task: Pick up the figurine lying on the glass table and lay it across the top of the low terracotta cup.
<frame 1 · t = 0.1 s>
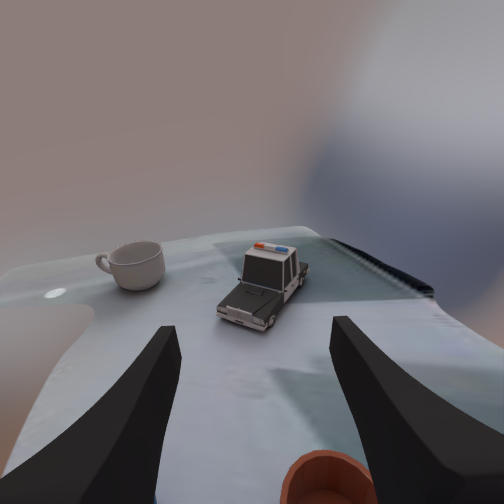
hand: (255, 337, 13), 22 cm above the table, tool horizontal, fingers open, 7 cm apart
toy car: (267, 297, 55), on the table
teacup: (136, 284, 62), on the table
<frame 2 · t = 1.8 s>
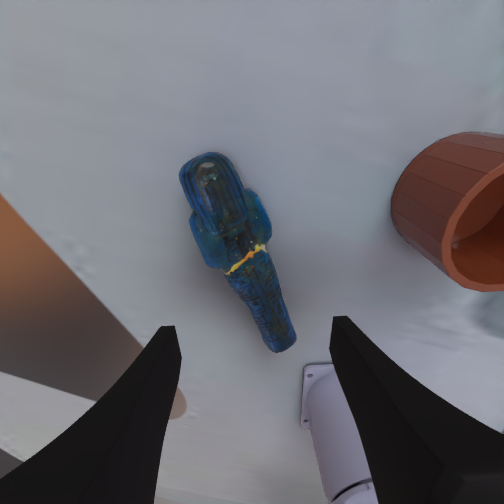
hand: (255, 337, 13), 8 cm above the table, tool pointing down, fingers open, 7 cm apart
figurine: (249, 250, 20), on the table
cup: (449, 195, 19), on the table
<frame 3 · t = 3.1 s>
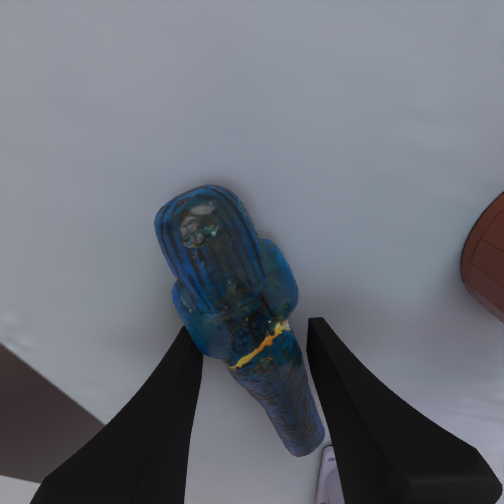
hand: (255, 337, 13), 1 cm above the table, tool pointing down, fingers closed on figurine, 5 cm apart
figurine: (261, 314, 14), on the table, touching gripper
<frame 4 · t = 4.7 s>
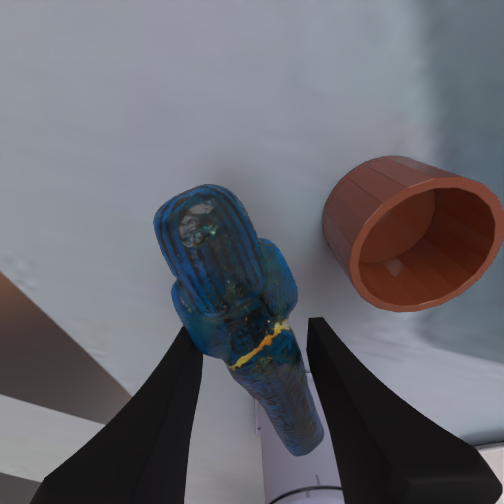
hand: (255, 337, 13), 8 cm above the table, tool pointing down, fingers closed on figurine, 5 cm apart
figurine: (261, 313, 14), point 7 cm above the table, touching gripper
cup: (378, 214, 19), on the table
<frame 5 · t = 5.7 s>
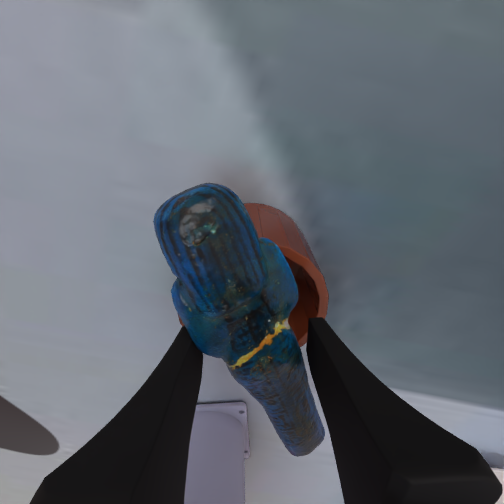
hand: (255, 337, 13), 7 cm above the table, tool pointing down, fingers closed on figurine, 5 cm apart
figurine: (261, 313, 14), point 6 cm above the table, touching gripper
cup: (249, 257, 19), on the table
when the fingers open (7 cm above the table, at t = 6.3 s): figurine stays where it is, resting on cup.
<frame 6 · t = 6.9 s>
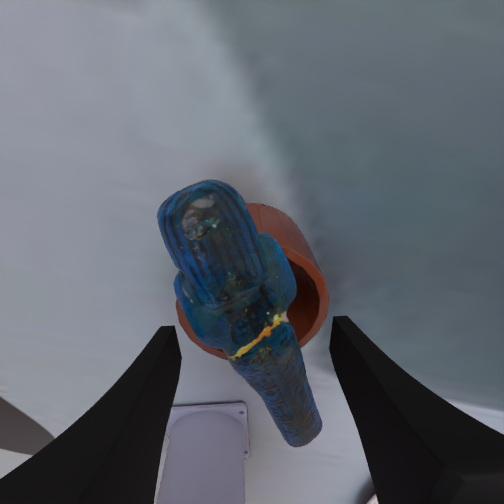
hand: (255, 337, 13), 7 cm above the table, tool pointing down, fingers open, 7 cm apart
figurine: (260, 307, 15), point 5 cm above the table, touching cup
cup: (249, 257, 19), on the table, touching figurine
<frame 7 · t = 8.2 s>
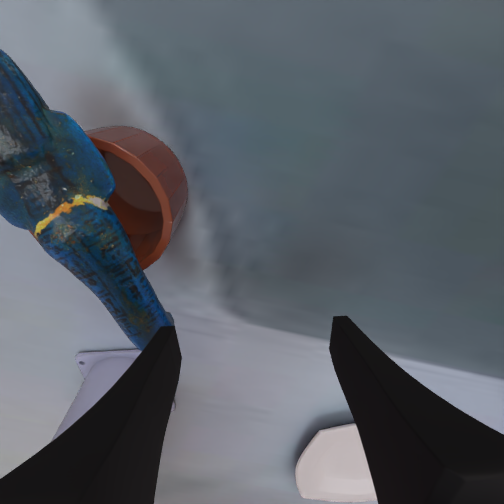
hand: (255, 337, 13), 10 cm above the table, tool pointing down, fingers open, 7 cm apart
figurine: (105, 213, 15), point 5 cm above the table, touching cup
cup: (131, 186, 20), on the table, touching figurine
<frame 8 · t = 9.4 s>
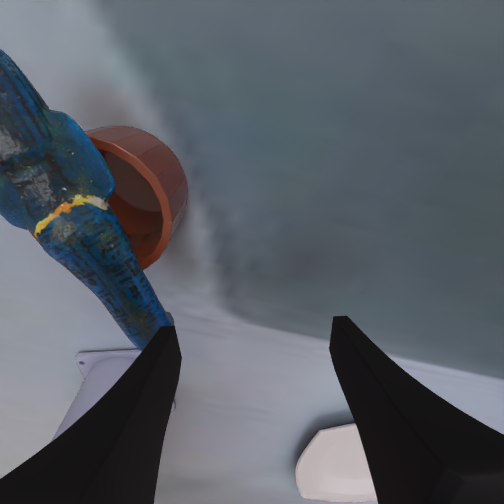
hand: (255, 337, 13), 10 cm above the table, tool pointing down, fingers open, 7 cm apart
figurine: (105, 213, 15), point 5 cm above the table, touching cup
cup: (131, 186, 20), on the table, touching figurine
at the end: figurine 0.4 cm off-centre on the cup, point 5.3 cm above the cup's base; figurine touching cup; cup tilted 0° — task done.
